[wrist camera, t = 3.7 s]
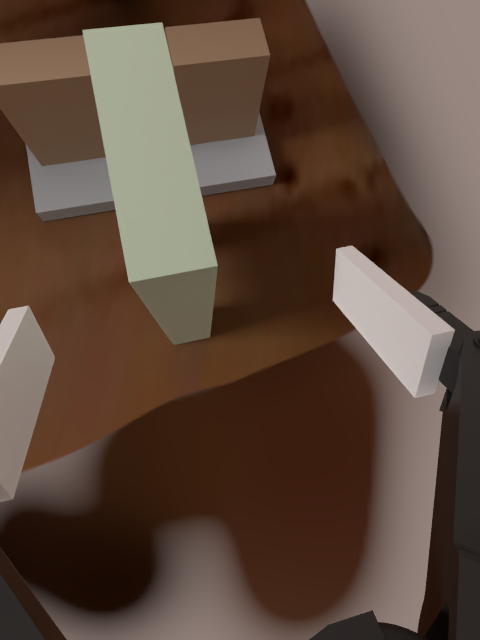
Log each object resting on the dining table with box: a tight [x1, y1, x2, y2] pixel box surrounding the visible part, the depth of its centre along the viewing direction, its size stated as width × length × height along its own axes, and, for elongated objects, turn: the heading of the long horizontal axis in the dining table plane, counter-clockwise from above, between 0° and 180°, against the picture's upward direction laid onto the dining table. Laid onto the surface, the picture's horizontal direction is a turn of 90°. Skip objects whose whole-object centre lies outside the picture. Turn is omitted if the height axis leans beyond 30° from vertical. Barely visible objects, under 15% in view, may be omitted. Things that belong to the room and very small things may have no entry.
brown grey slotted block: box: [0, 18, 276, 221], centre depth 28 cm, size 20×11×10 cm, turn 103°
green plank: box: [82, 22, 218, 345], centre depth 22 cm, size 3×10×18 cm, turn 13°
